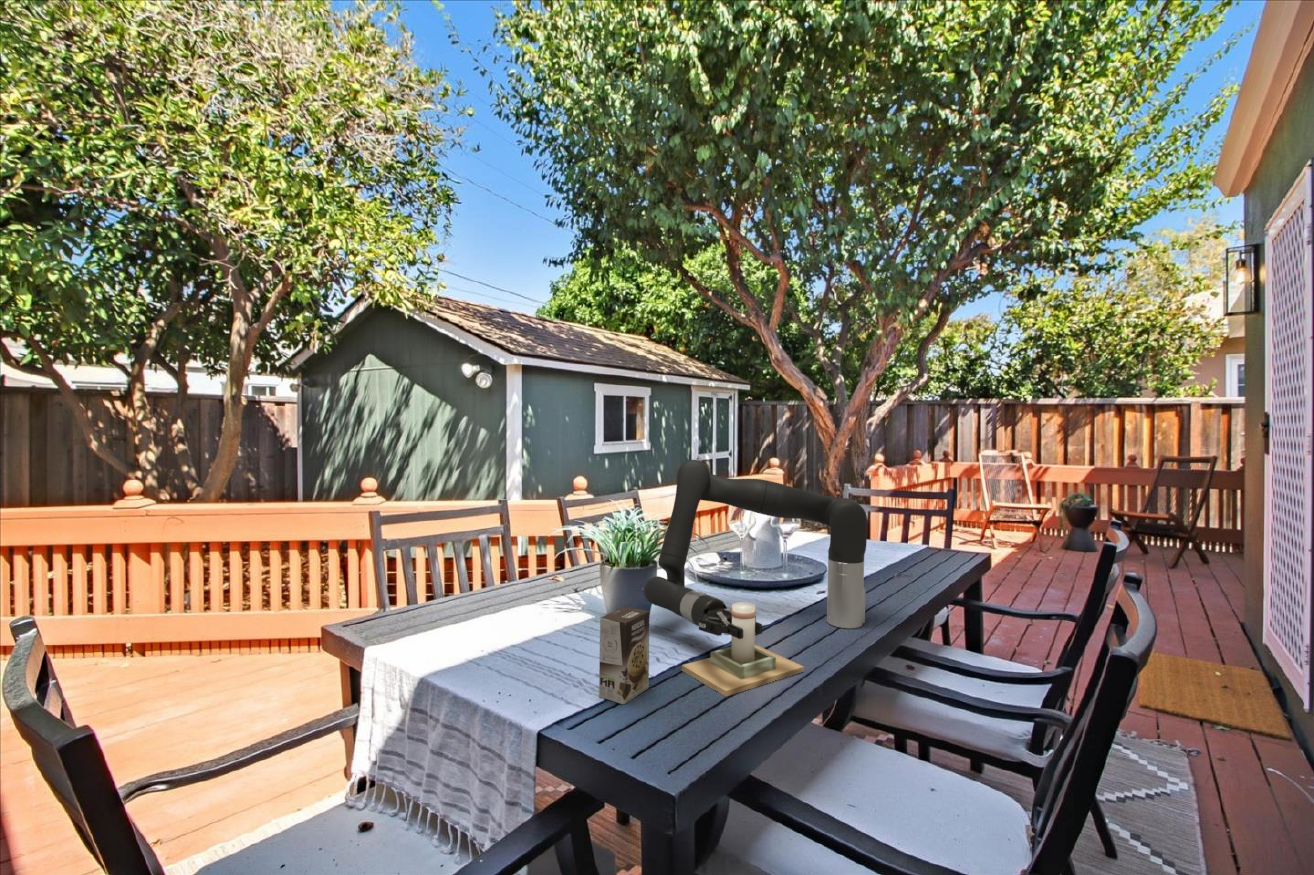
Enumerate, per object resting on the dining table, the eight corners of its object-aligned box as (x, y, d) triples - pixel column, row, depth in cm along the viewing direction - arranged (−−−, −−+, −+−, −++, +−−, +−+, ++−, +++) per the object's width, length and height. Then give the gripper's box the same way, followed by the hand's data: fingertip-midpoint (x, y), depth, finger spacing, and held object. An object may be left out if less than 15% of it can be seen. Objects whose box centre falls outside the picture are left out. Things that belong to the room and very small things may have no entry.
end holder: (756, 650, 152) (756, 634, 151) (803, 672, 139) (804, 655, 139) (681, 670, 139) (681, 653, 139) (725, 696, 127) (726, 678, 127)
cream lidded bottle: (743, 653, 143) (744, 600, 142) (759, 661, 138) (760, 606, 138) (725, 658, 140) (726, 604, 139) (741, 666, 135) (742, 610, 135)
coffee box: (624, 705, 123) (625, 623, 122) (598, 697, 126) (598, 617, 125) (650, 688, 131) (650, 610, 130) (624, 680, 134) (624, 605, 133)
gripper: (678, 599, 146) (726, 620, 132) (726, 589, 154) (776, 609, 140) (678, 631, 147) (725, 656, 133) (726, 620, 155) (775, 642, 141)
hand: (751, 631), depth 137 cm, fingers closed on cream lidded bottle, 4 cm apart
